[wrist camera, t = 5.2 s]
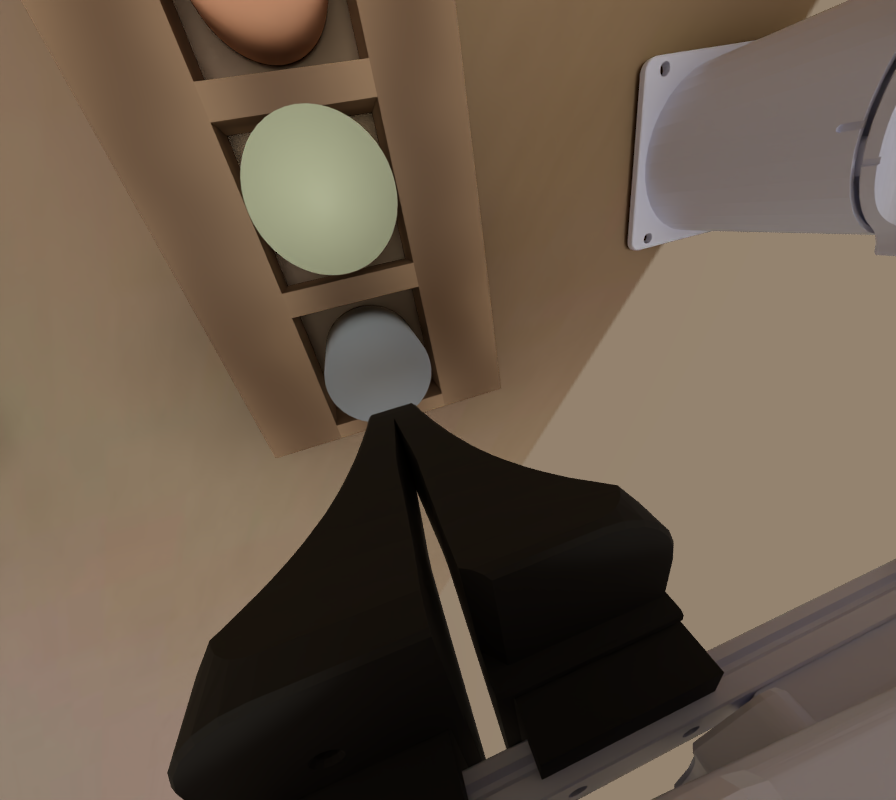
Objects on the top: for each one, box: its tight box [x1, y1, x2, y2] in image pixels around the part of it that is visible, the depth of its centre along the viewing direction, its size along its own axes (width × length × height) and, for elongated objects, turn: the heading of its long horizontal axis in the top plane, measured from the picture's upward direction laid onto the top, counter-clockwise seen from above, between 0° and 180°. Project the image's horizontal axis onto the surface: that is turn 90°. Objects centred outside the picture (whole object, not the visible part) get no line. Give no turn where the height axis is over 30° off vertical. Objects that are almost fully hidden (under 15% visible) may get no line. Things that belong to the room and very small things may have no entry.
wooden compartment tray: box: [21, 0, 501, 458], centre depth 14 cm, size 12×20×2 cm, turn 10°
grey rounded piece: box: [324, 306, 431, 422], centre depth 16 cm, size 4×4×4 cm
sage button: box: [240, 103, 398, 275], centre depth 12 cm, size 4×4×4 cm
